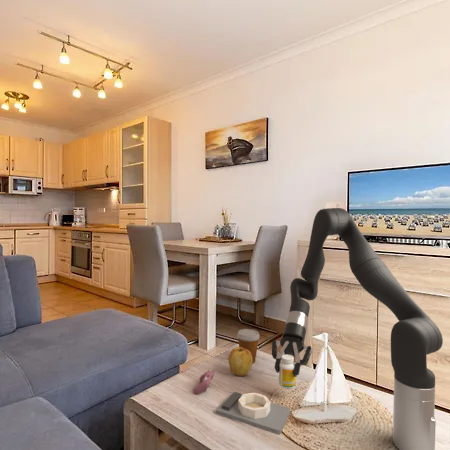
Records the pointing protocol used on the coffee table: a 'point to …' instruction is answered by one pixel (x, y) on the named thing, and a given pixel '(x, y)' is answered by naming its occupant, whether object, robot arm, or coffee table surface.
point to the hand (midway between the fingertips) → (285, 373)
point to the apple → (240, 361)
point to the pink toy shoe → (204, 382)
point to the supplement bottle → (287, 372)
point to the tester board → (261, 422)
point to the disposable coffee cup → (249, 341)
